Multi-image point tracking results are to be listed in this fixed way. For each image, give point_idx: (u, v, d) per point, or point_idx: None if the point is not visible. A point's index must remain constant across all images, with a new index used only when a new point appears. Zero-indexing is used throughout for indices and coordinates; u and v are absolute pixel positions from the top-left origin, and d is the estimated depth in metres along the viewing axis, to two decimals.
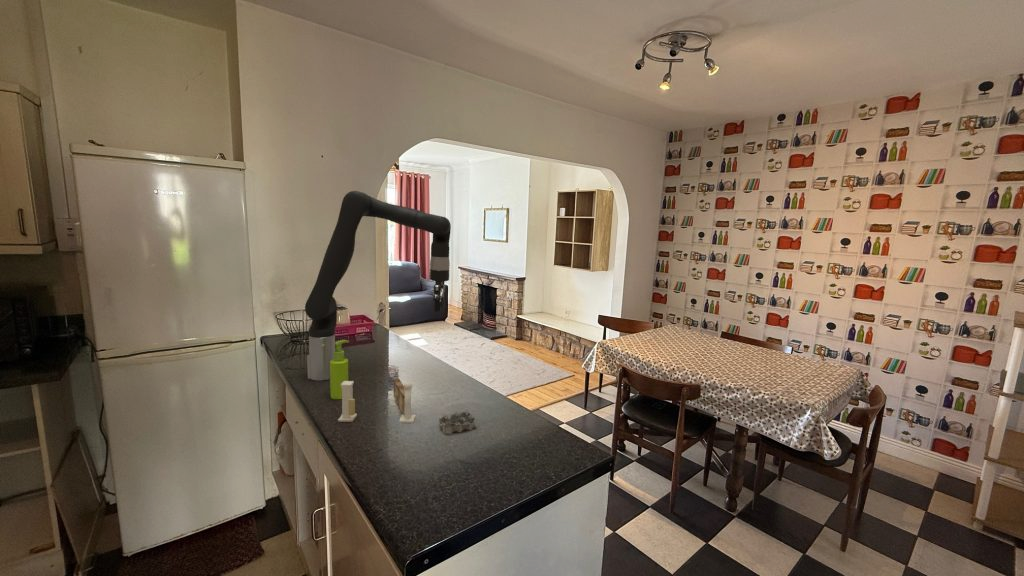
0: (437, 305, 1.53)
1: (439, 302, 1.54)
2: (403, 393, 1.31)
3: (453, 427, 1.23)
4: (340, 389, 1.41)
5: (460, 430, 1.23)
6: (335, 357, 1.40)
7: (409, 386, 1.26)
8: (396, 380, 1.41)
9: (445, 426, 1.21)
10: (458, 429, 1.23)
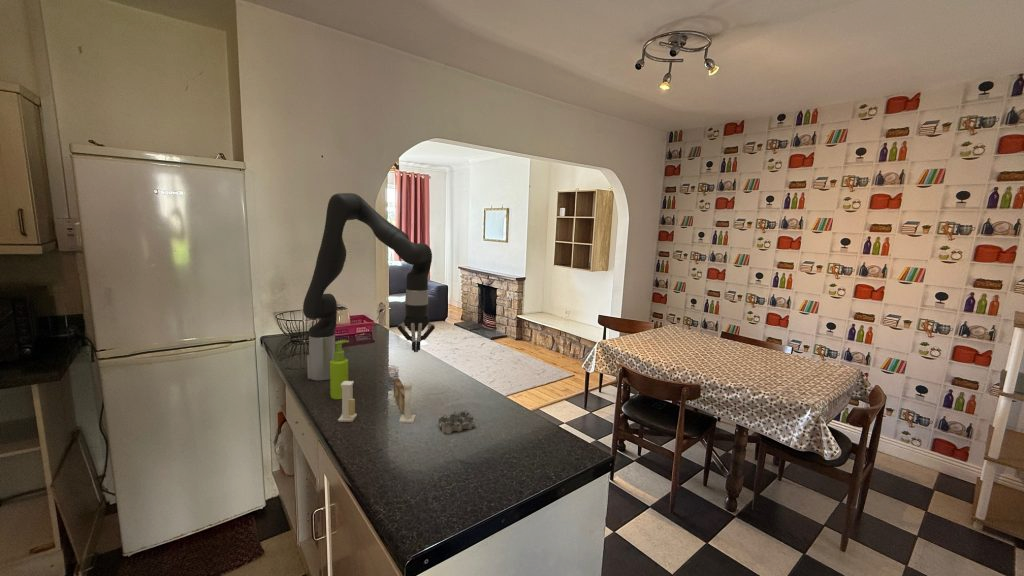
0: None
1: None
2: (403, 393, 1.31)
3: (452, 426, 1.23)
4: (340, 389, 1.41)
5: (459, 429, 1.23)
6: (335, 357, 1.40)
7: (409, 386, 1.26)
8: (396, 380, 1.41)
9: (444, 426, 1.22)
10: (457, 428, 1.23)
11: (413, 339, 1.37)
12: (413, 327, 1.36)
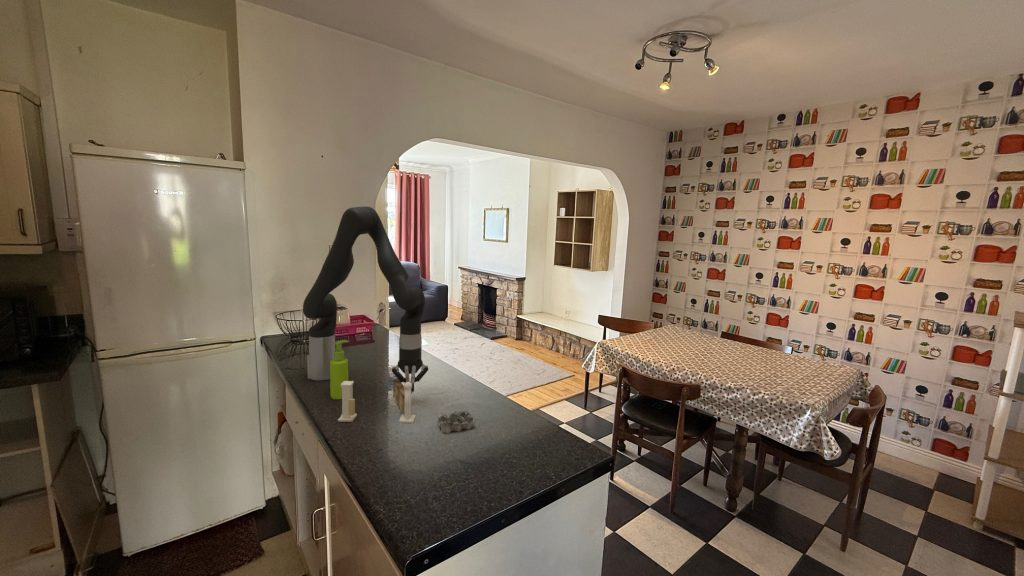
0: None
1: None
2: (403, 393, 1.31)
3: (451, 426, 1.23)
4: (340, 389, 1.41)
5: (458, 429, 1.23)
6: (335, 357, 1.40)
7: (409, 386, 1.26)
8: (396, 380, 1.41)
9: (443, 425, 1.22)
10: (456, 428, 1.23)
11: (407, 381, 1.39)
12: (407, 370, 1.38)
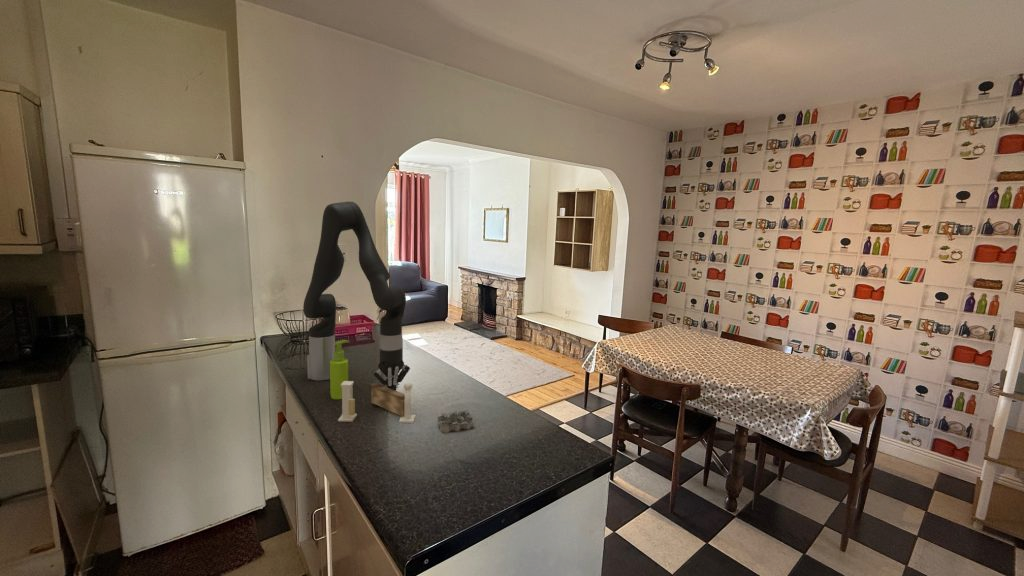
0: None
1: None
2: (399, 395, 1.29)
3: (450, 426, 1.23)
4: (340, 389, 1.41)
5: (457, 429, 1.23)
6: (335, 357, 1.40)
7: (409, 386, 1.26)
8: (376, 385, 1.36)
9: (442, 424, 1.22)
10: (455, 428, 1.24)
11: (389, 383, 1.36)
12: (390, 371, 1.35)
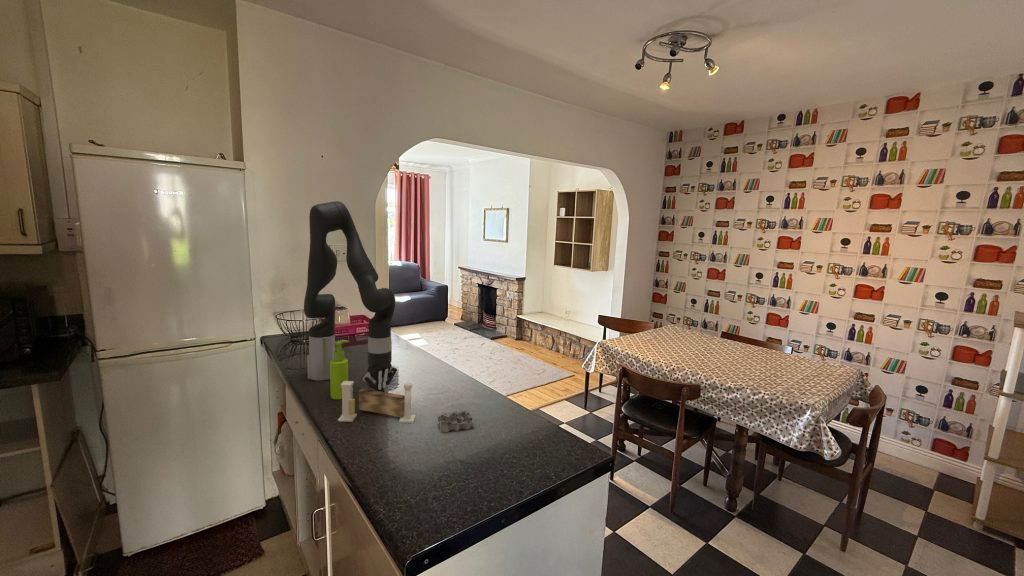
0: None
1: None
2: (397, 396, 1.28)
3: (450, 425, 1.24)
4: (340, 389, 1.41)
5: (457, 429, 1.24)
6: (335, 357, 1.40)
7: (409, 386, 1.26)
8: (364, 390, 1.31)
9: (442, 424, 1.23)
10: (455, 428, 1.24)
11: (379, 387, 1.33)
12: (380, 375, 1.32)
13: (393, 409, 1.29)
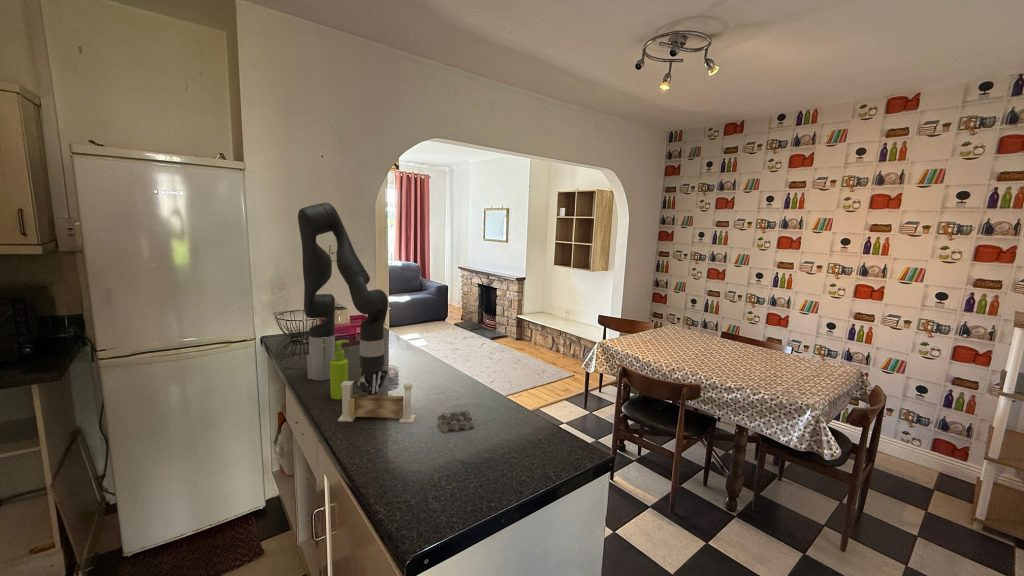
0: None
1: None
2: (396, 397, 1.27)
3: (449, 425, 1.24)
4: (340, 389, 1.41)
5: (456, 429, 1.24)
6: (335, 357, 1.40)
7: (409, 386, 1.26)
8: (358, 396, 1.27)
9: (441, 424, 1.23)
10: (454, 428, 1.24)
11: (373, 391, 1.30)
12: (374, 378, 1.29)
13: (392, 411, 1.27)
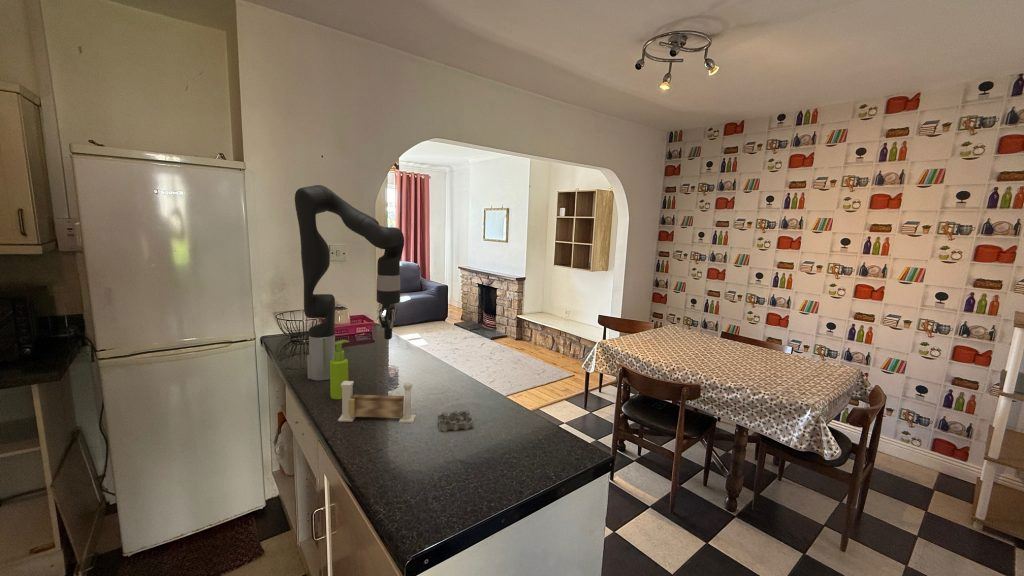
0: None
1: None
2: (396, 397, 1.27)
3: (449, 425, 1.24)
4: (340, 389, 1.41)
5: (455, 428, 1.24)
6: (335, 357, 1.40)
7: (409, 386, 1.26)
8: (358, 396, 1.27)
9: (440, 423, 1.23)
10: (453, 427, 1.24)
11: (391, 326, 1.34)
12: (393, 313, 1.33)
13: (392, 411, 1.27)
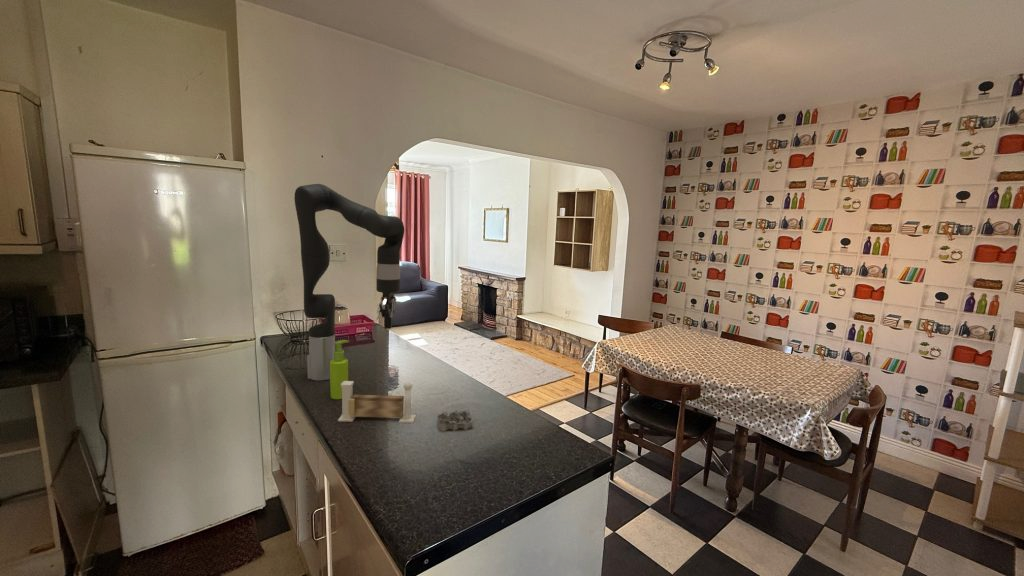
0: None
1: None
2: (396, 397, 1.27)
3: (448, 424, 1.24)
4: (340, 389, 1.41)
5: (455, 428, 1.24)
6: (335, 357, 1.40)
7: (409, 386, 1.26)
8: (358, 396, 1.27)
9: (440, 422, 1.23)
10: (453, 427, 1.24)
11: (391, 315, 1.34)
12: (393, 302, 1.33)
13: (392, 411, 1.27)
